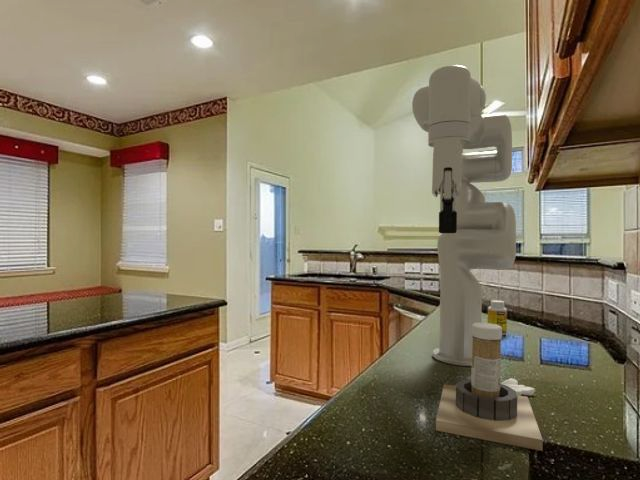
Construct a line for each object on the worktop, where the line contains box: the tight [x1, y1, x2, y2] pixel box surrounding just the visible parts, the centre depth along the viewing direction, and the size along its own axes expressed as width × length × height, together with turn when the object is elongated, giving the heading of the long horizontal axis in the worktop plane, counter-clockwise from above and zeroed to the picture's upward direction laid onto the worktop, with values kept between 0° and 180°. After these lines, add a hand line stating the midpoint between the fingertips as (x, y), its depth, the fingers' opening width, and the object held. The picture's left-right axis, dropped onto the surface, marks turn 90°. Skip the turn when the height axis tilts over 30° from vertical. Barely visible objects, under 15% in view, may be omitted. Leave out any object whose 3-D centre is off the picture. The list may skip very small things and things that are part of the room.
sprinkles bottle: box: [470, 322, 503, 398], centre depth 63 cm, size 5×5×14 cm
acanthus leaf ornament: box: [500, 377, 536, 396], centre depth 75 cm, size 8×7×2 cm
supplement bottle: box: [487, 299, 508, 336], centre depth 122 cm, size 6×6×10 cm
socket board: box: [435, 378, 544, 452], centre depth 63 cm, size 16×14×4 cm
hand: (447, 232), depth 73 cm, fingers closed
